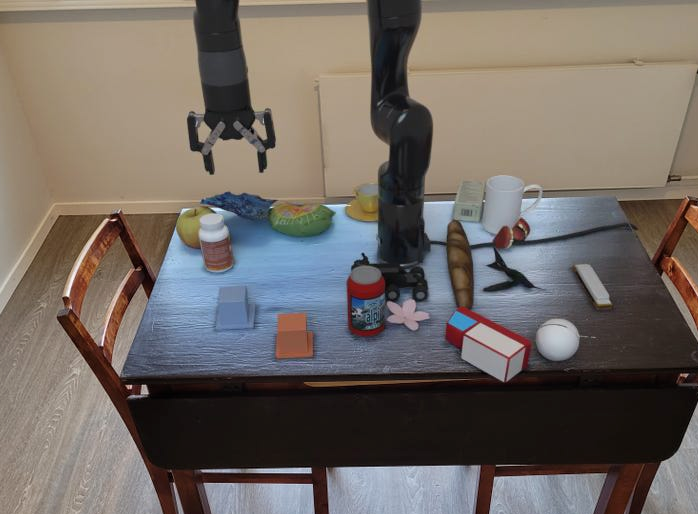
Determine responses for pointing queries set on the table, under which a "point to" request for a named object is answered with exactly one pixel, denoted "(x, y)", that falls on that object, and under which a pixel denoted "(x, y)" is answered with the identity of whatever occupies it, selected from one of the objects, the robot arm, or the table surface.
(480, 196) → the cosmetic box
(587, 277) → the harmonica
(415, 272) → the toy vehicle
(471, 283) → the bread
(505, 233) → the dentures model
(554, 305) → the table surface
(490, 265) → the bird model
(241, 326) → the slate-blue mat
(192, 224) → the apple
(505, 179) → the mug
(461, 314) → the toy truck
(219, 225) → the pill bottle
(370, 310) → the beverage can
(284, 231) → the educational model
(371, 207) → the cup
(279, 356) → the terracotta mat
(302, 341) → the terracotta block
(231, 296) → the slate-blue block
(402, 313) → the flower
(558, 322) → the seamed sphere
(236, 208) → the rock
